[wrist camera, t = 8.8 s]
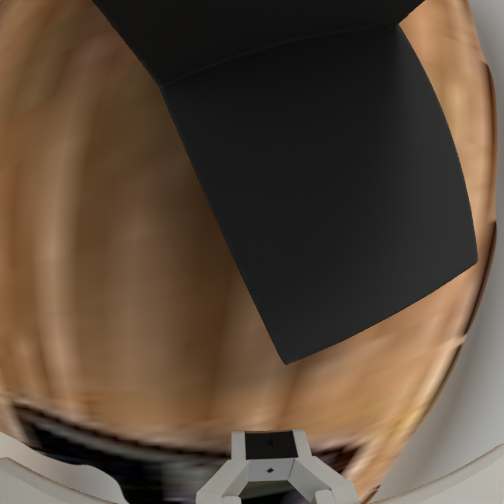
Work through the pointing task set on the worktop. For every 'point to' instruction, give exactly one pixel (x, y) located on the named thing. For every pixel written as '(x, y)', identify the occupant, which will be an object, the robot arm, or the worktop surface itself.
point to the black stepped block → (312, 154)
